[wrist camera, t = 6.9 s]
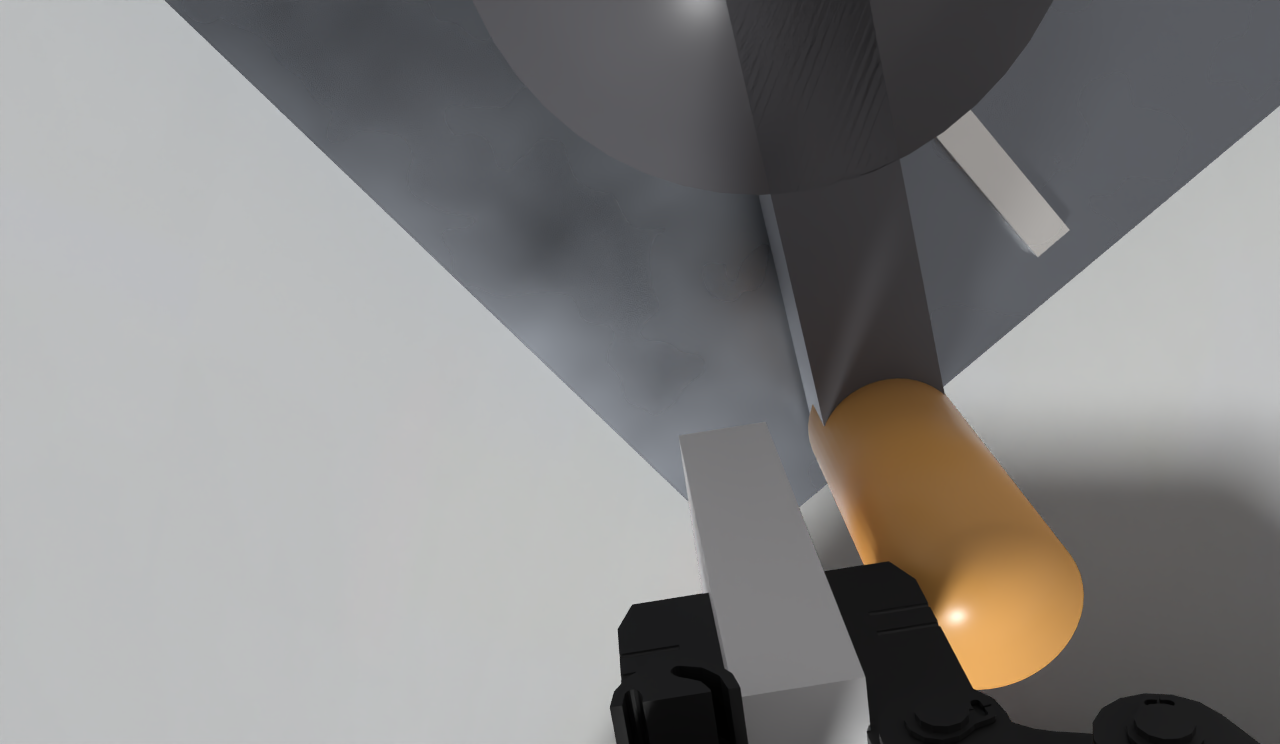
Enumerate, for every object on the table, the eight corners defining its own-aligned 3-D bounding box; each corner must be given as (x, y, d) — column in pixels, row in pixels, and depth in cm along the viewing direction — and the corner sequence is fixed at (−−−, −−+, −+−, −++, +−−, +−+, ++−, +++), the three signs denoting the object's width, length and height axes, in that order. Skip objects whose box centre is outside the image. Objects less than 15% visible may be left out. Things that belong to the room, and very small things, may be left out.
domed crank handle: (372, -366, 17) (251, -537, 11) (992, -551, 17) (1255, -844, 10) (638, 523, 23) (666, 771, 16) (1120, 396, 22) (1349, 598, 16)
